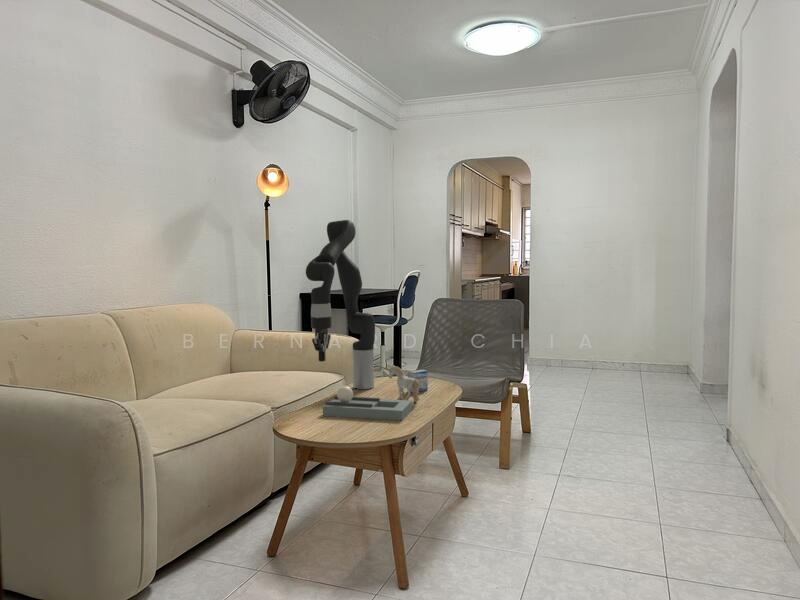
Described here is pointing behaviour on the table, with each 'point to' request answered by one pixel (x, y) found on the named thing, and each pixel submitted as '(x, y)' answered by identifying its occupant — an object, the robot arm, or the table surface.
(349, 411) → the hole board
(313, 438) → the table surface
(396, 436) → the table surface
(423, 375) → the medicine box
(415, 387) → the unicorn figurine
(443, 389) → the table surface
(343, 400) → the plastic ball
